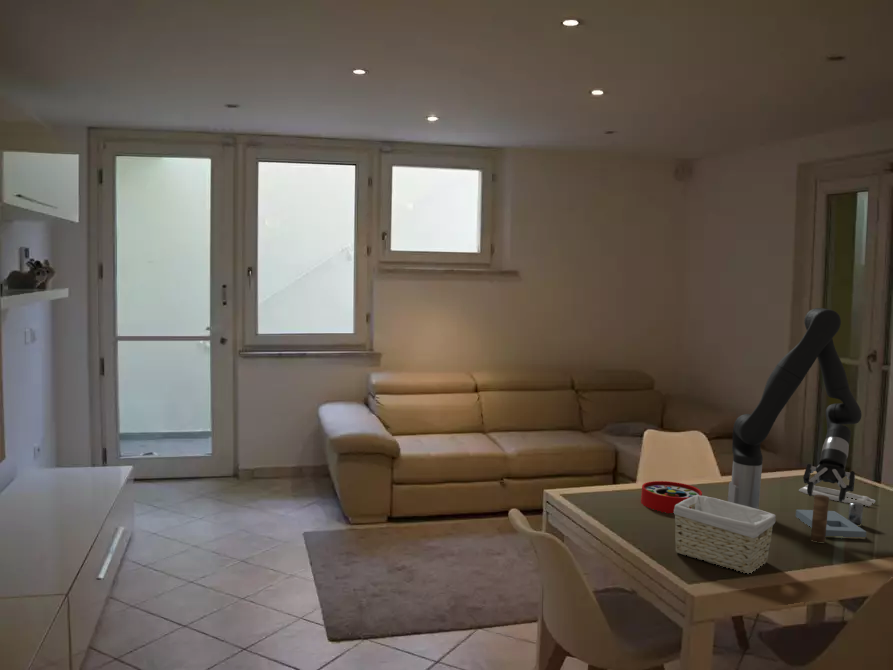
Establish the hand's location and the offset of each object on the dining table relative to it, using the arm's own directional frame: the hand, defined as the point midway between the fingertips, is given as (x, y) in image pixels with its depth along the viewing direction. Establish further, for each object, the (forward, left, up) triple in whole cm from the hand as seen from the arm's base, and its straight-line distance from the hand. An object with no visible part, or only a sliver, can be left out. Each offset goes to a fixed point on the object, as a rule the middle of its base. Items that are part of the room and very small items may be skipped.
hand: (825, 497), depth 242 cm
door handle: (+26, +44, -13) cm, 52 cm away
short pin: (+17, +14, -13) cm, 25 cm away
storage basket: (-39, -22, -13) cm, 47 cm away
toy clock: (-40, +26, -13) cm, 49 cm away
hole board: (+7, +9, -13) cm, 17 cm away
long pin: (-3, -4, -13) cm, 14 cm away
